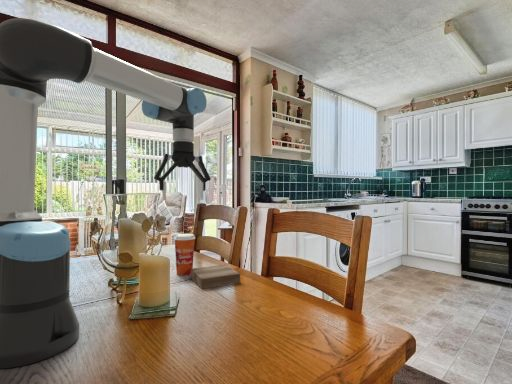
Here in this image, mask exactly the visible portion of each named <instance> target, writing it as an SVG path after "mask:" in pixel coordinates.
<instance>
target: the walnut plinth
mask: <svg viewBox="0 0 512 384" xmlns="http://www.w3.org/2000/svg"><path fill="white" fill-rule="evenodd" d="M190 279H191V280H192V281H193V282H195V284H196V285H197V286H198V287H200V289H210V288H215V287H222V286H228V285H229V286H230V285H235V284H240V283H241V273H239V271H237V270H235V269H234V268H232V267H230V266H229V265H227V264H221V265H212V266H203V267H196V268H194V267H193V269H191V274H190Z"/></svg>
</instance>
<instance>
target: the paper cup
mask: <svg viewBox="0 0 512 384" xmlns="http://www.w3.org/2000/svg"><path fill="white" fill-rule="evenodd" d="M195 239H196V237H195V234H193V233H178V234H175V236H174V238H173V240H174V251H175V266H176V274H177V275H178V276H187V275H191V269H194V256H195V255H194V254H195V253H194V252H195Z"/></svg>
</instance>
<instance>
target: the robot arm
mask: <svg viewBox="0 0 512 384" xmlns="http://www.w3.org/2000/svg"><path fill="white" fill-rule="evenodd" d="M49 80H65V81H66V80H67V81H70V82H73V83H76V84H82V83H84V82H88V83H90V84H92V85H93V84H94V85H97V86H99V87H103V88H106V89H108V90H111V91H114V92H118V93H120V94H123V95H126V96H129V97H131V98H135V99H138V100H140V101H142V102H141V112H142V113H143V115H144V116H145V117H147V118H149V119H152V120H156V121H160V122H166V123H169V124H172V141H173V142H172V154H168V153H165V154H163V156H162V157H163V158H162V162H161V163H160V166H159V167H158V169H157V171H156V173H155V175H154V177H153V179H154V180H155V181H158V183H159V186H158V187H159V188H158V190H159V191H162V195H161V196H162V199H161V200H162V201H166V200H167V182H166V181H165V180H166V179H167V177H168V176H169V175H170V174H171V173H172V172H173V170H175V169H176V168H189V169H190V170H192V172H193V173H194V174H195V175H196V178H198V179H199V180H200V181H199V183H198V184H199V185H198V186H199V187H198V188H199V189H198V193H199V194H198V195H199V197H198V200H204V191H206V188H207V186H206V183H207V182H209V181H211V179H212V178H211V176H210V175H209V174H210V173H208V170H207V167H206V166H205V164H204V160H203V156H202V155H199V156H195V154H194V153H195V152H194V151H195V150H194V149H195V144H194V143H193V142H194V141H195V135H194V133H195V131H194V130H195V129H194V127H195V126H194V124H195V116H196V115H197V114H201V113H203V112H204V111H205V110H206V108H207V102H208V101H207V97H206V94H205V93H204V91H203V90H202V89H201V88H199V87H190V88H186V87H185V88H184V87H182V86H180V85H178V84H177V83H176V84H175V83H174V82H171V81H169V80H167V79H164V78H162V77H160V76H157V75H156V74H154V73H152V72H149V71H146V70H145V69H142V68H140V67H137V66H135V65H133V64H131V63H129V62H126V61H124V60H122V59H120V58H117V57H115V56H113V55H111V54H109V53H106V52H104V51H102V50H101V49H100V50H99V49H98V48H96V47H94V46H93V44H92V41H90V40H89V39H87V38H85V37H83V36H80V35H78V34H77V33H74V32H71V31H69V30H67V29H64V28H62V27H59V26H57V25H53V24H51V23H47V22H44V21H40V20H36V19H32V18H24V17H18V18H17V17H16V18H15V17H14V18H10V19H7V20H4V21H2V22H1V23H0V369H9V368H11V369H12V368H17V367H22V366H27V365H30V364H34V363H38V362H41V361H43V360H46V359H49V358H51V357H53V356H56V355H57V354H59V353H62V352H63V351H65V350H67V349H69V348H70V347H71V346H72V345H74V344H75V343H77V340H78V339H79V337H80V322H79V320H78V317H77V314H76V312H75V310H74V307H73V304H72V302H71V299H70V282H71V281H70V280H71V279H70V275H71V274H70V272H71V271H70V267H71V265H70V264H71V262H70V261H71V246H72V243H71V236H70V231H69V229H68V228H67V227H66V226H65V225H63V224H60V223H55V222H46V221H43V216H42V215H41V214H39V213H38V212H37V211H36V210H35V199H36V198H35V197H36V196H35V192H36V191H35V190H36V170H37V169H36V168H37V167H36V166H37V165H36V164H37V138H38V137H37V135H38V111H39V110H38V108H39V107H40V106H42V105H44V104H45V103H46V102H47V85H48V84H47V83H48V81H49ZM170 159H171V160H172V162H173V163H172V164H171V165H170V166H169V168H168V169H167V170H166V171H165V172H164V173H163V171H164V169H165V167H166V165H167V162H168V161H170ZM194 162H196V163H197V164H198V166H199V169H198V168H197V167H196V165H195V163H194ZM200 171H201V172H200ZM162 173H163V174H162ZM161 174H162V175H161Z"/></svg>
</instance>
